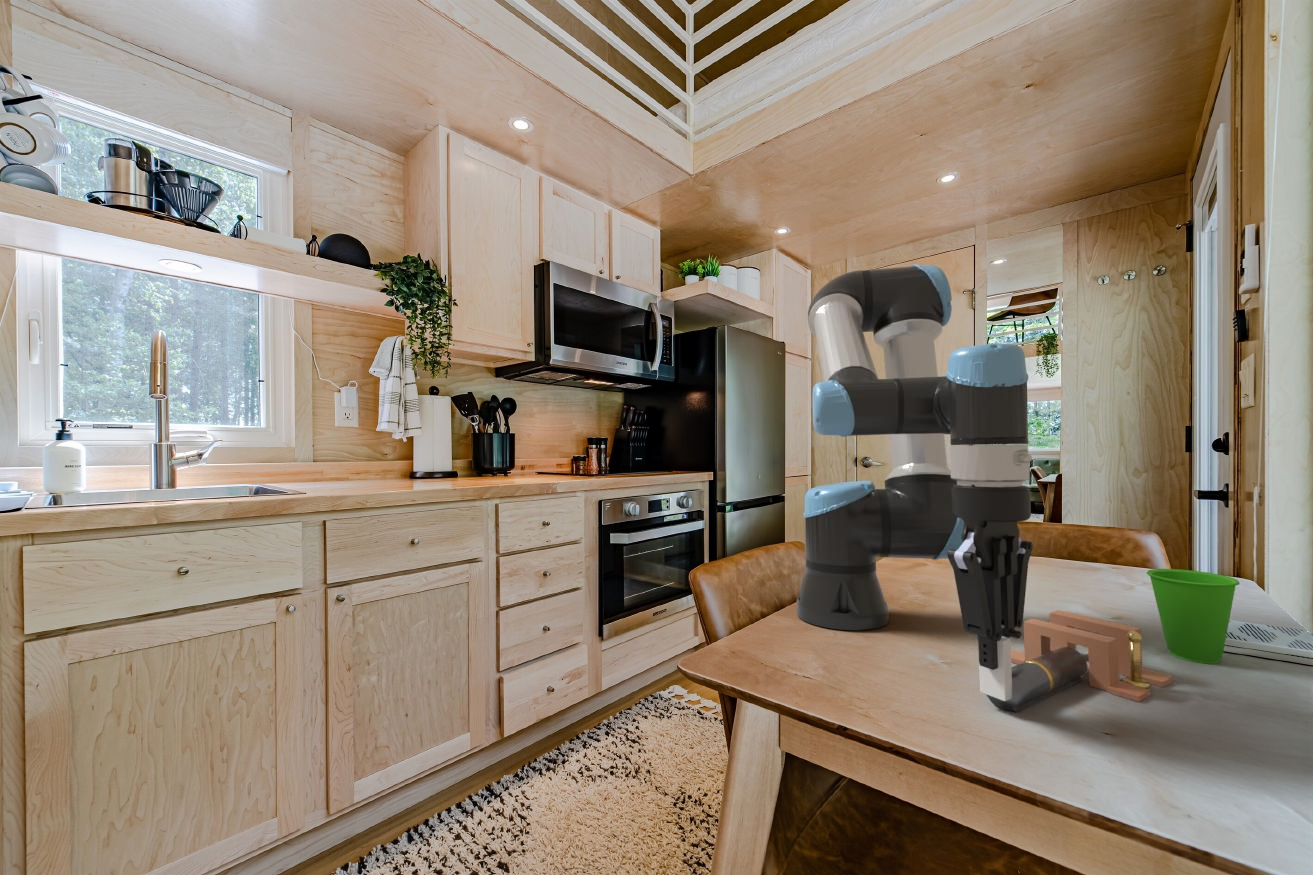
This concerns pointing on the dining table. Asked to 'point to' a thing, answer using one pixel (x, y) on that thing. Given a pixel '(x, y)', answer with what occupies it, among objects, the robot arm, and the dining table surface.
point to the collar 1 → (1100, 655)
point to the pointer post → (1135, 661)
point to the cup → (1194, 612)
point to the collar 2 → (1109, 629)
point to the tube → (1043, 678)
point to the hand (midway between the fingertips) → (995, 694)
